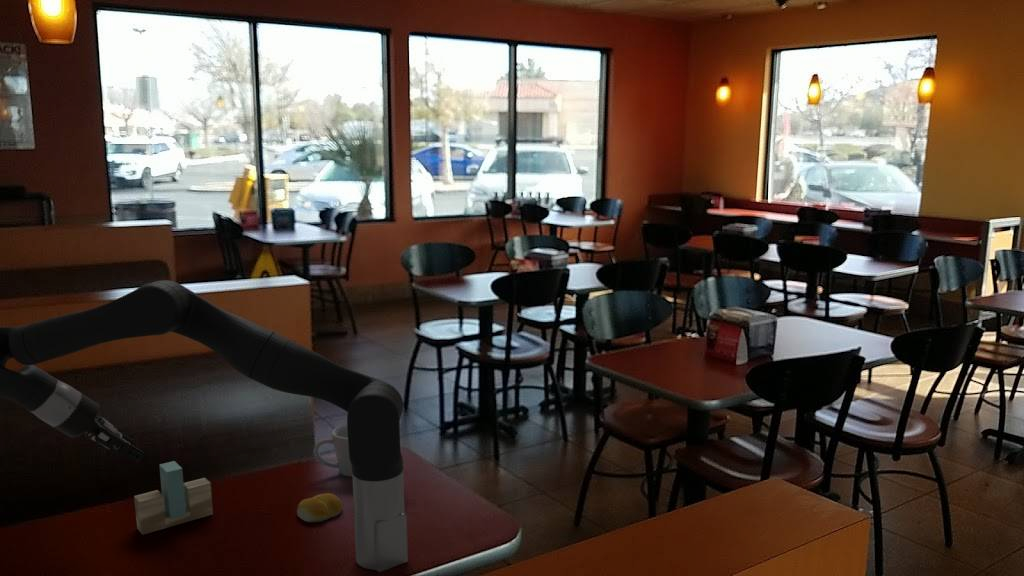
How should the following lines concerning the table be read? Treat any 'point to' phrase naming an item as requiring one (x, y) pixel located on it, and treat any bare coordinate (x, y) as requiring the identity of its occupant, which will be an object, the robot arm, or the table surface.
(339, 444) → the mug
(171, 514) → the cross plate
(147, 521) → the slot plate
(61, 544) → the table surface
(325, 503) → the bread roll
